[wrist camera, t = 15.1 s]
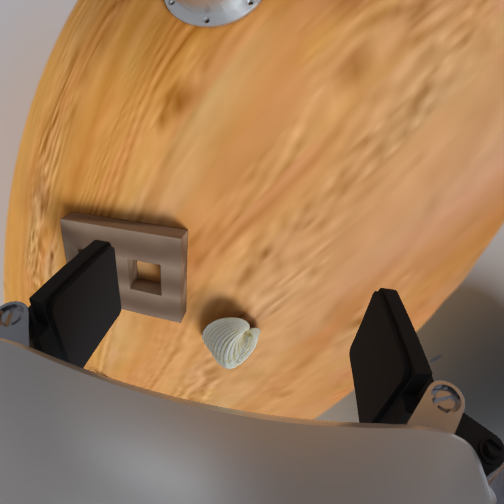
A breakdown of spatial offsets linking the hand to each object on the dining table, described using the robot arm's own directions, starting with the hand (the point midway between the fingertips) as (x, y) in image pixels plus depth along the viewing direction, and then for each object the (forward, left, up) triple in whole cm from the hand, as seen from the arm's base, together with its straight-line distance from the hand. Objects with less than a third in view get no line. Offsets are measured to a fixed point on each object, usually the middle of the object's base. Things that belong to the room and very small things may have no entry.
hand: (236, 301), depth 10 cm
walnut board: (+18, -20, -28) cm, 39 cm away
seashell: (+26, -3, -29) cm, 39 cm away
